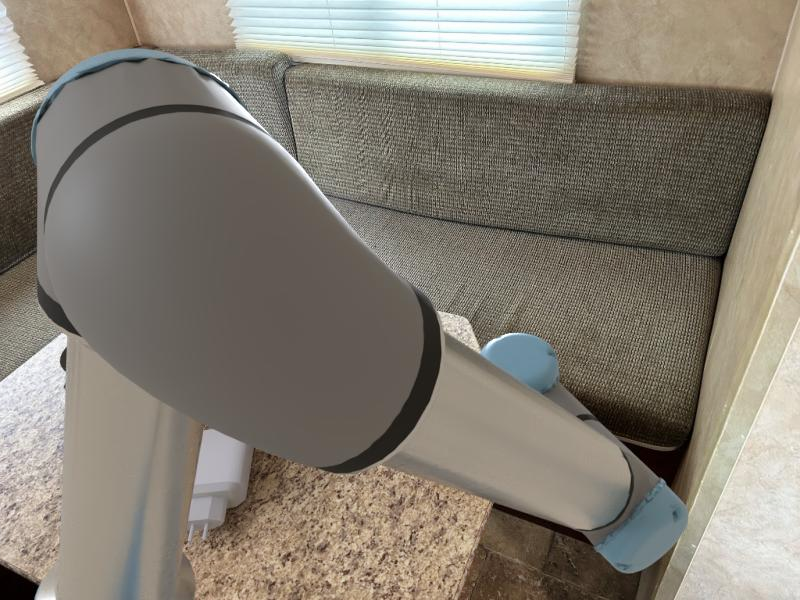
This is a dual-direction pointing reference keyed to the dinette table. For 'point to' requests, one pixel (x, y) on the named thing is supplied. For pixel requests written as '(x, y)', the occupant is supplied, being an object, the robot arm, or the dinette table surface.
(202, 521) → the charger
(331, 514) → the dinette table surface
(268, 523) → the dinette table surface
